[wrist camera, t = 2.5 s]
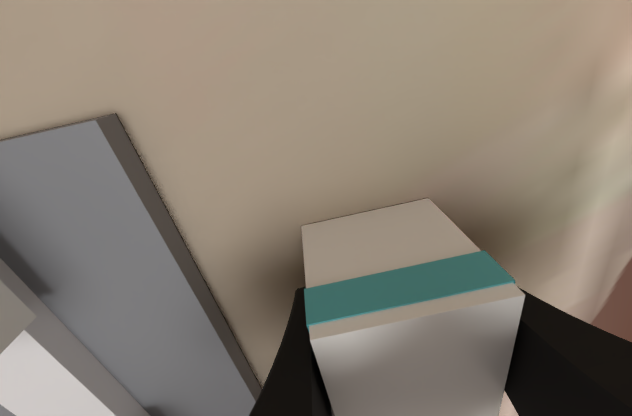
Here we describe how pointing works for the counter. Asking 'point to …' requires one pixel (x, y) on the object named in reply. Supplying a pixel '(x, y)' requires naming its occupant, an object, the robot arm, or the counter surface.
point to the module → (408, 314)
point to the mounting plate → (104, 289)
